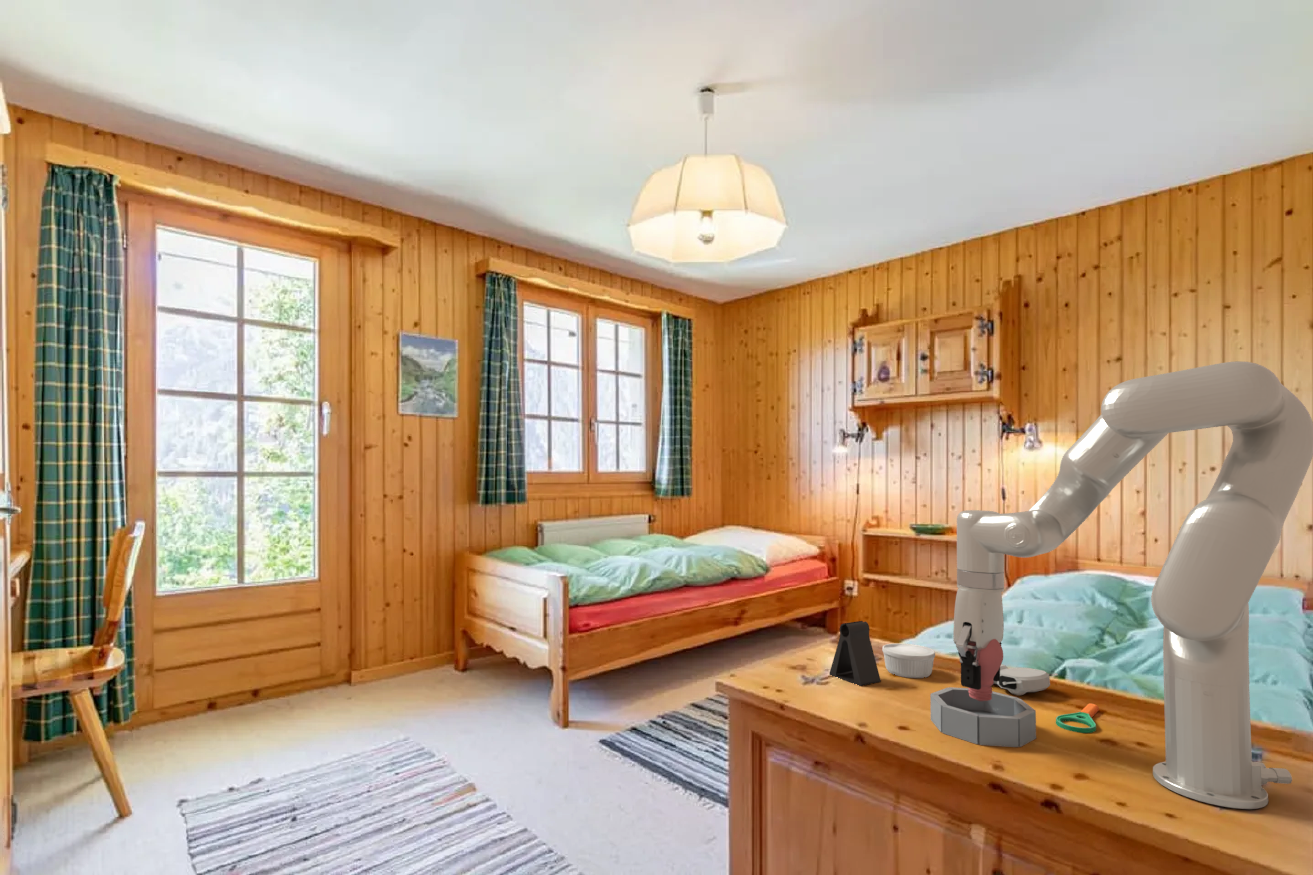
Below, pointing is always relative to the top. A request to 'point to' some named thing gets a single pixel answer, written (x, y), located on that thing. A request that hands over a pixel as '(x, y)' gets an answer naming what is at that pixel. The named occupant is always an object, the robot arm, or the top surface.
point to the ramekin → (908, 660)
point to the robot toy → (1023, 680)
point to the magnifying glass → (1079, 719)
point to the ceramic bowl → (983, 718)
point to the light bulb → (987, 669)
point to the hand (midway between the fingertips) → (980, 682)
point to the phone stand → (855, 655)
